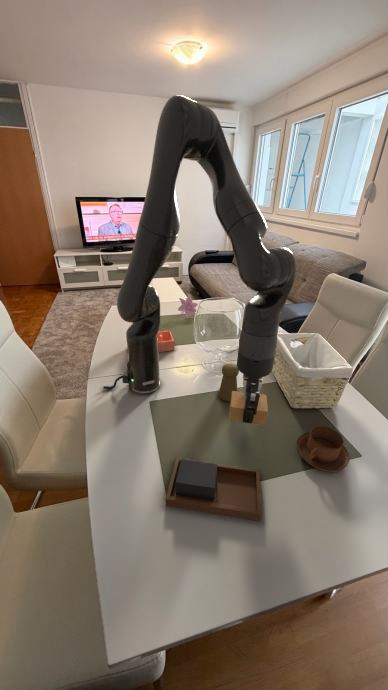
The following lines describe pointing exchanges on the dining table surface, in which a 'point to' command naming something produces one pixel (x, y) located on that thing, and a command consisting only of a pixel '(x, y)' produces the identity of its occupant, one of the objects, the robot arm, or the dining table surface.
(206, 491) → the black rectangular block
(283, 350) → the basket
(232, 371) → the pawn chess piece
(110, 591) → the dining table surface
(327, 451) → the cup and saucer
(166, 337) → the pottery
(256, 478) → the brown wooden tray
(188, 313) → the lily
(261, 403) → the orange tan block
